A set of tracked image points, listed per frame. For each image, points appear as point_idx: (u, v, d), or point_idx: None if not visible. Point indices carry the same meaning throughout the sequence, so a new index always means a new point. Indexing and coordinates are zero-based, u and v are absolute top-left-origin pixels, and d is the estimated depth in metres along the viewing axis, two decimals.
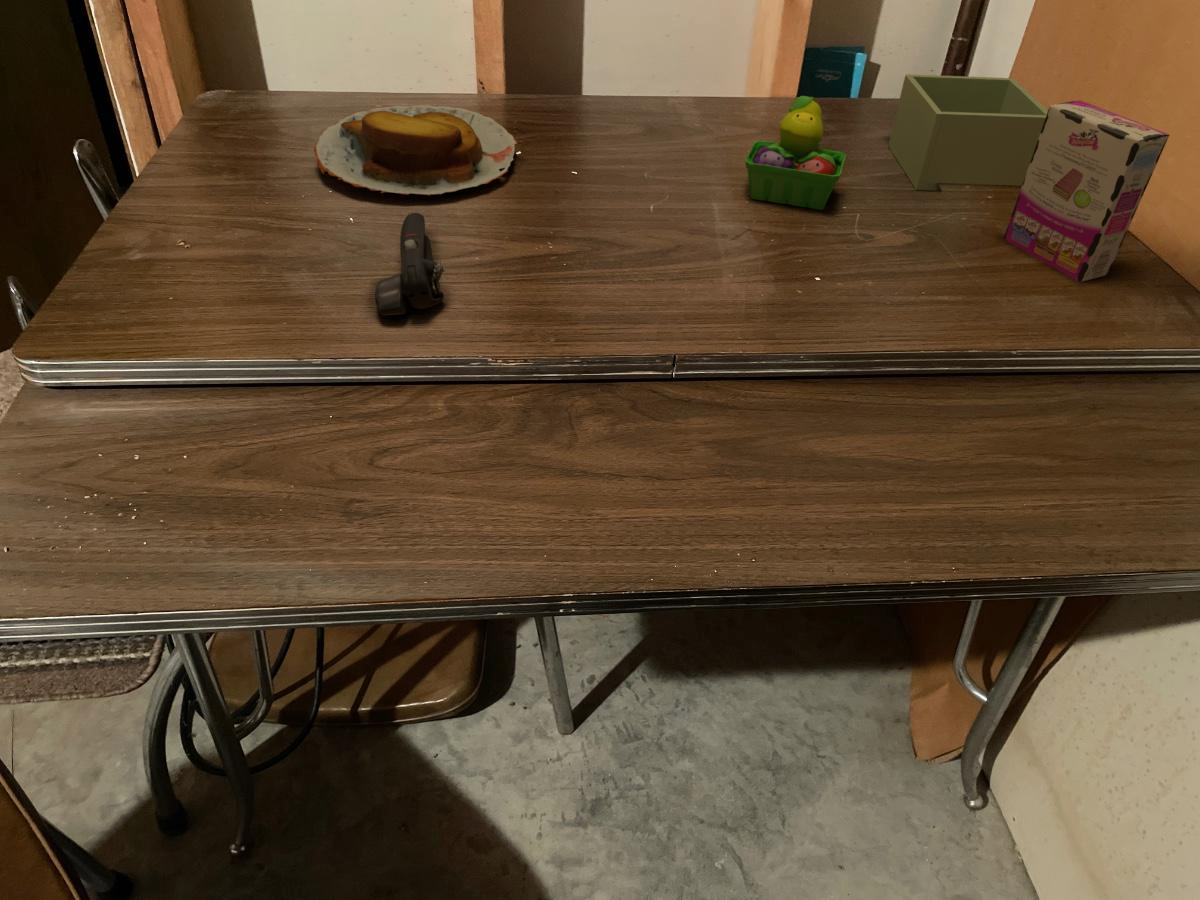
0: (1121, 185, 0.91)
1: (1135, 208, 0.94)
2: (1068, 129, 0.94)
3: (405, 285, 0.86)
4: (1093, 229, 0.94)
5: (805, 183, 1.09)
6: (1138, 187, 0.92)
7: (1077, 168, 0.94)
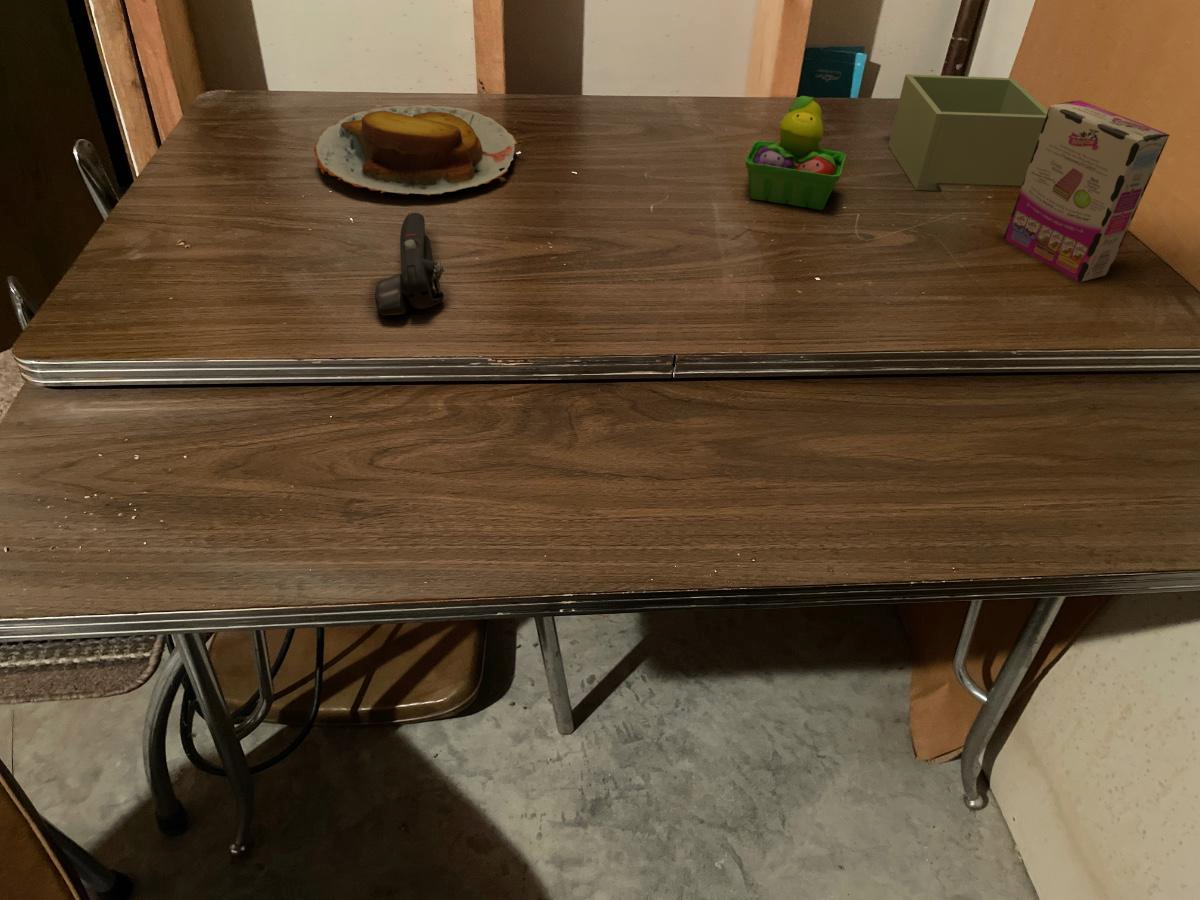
0: (1121, 185, 0.91)
1: (1135, 208, 0.94)
2: (1068, 129, 0.94)
3: (405, 285, 0.86)
4: (1093, 229, 0.94)
5: (805, 183, 1.09)
6: (1138, 187, 0.92)
7: (1077, 168, 0.94)
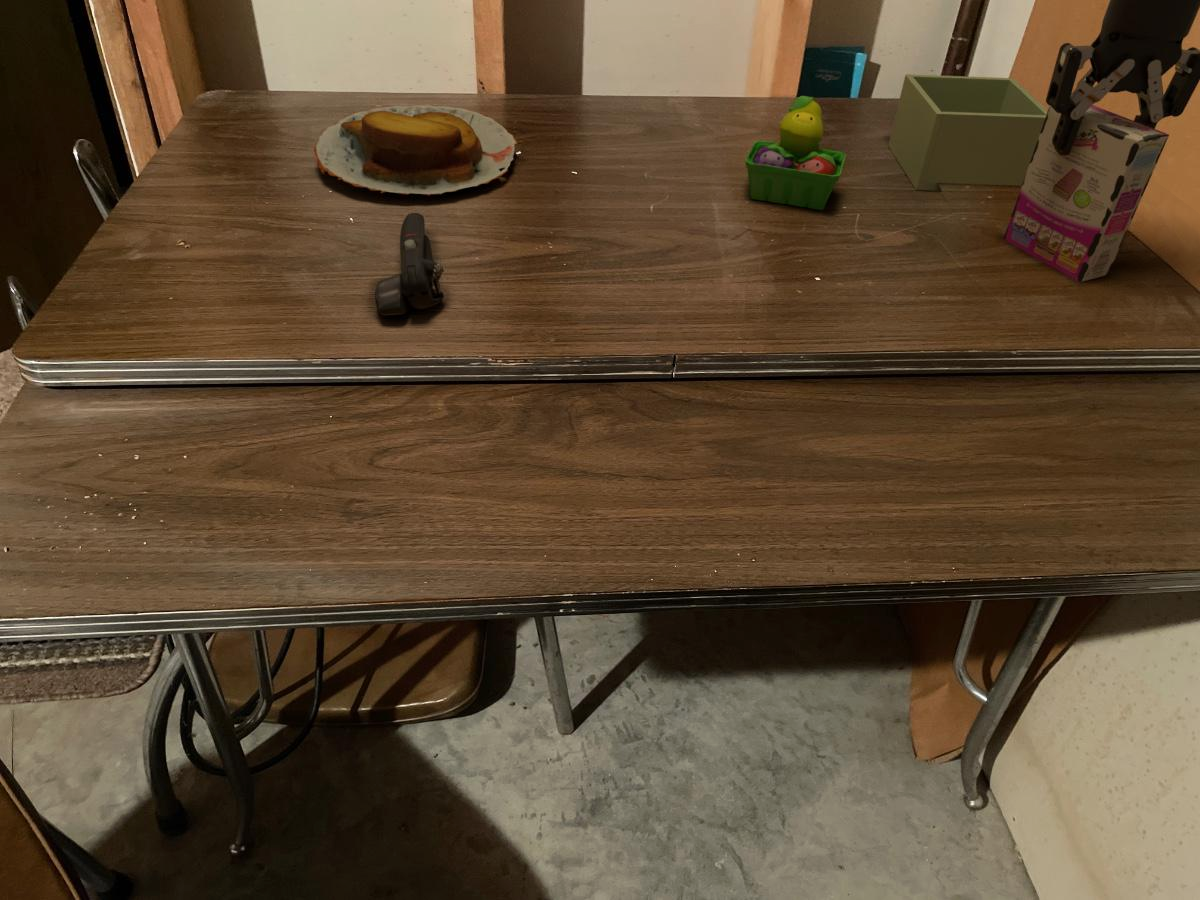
0: (1121, 185, 0.91)
1: (1135, 208, 0.94)
2: None
3: (405, 285, 0.86)
4: (1093, 229, 0.94)
5: (805, 183, 1.09)
6: (1138, 187, 0.92)
7: (1077, 168, 0.94)
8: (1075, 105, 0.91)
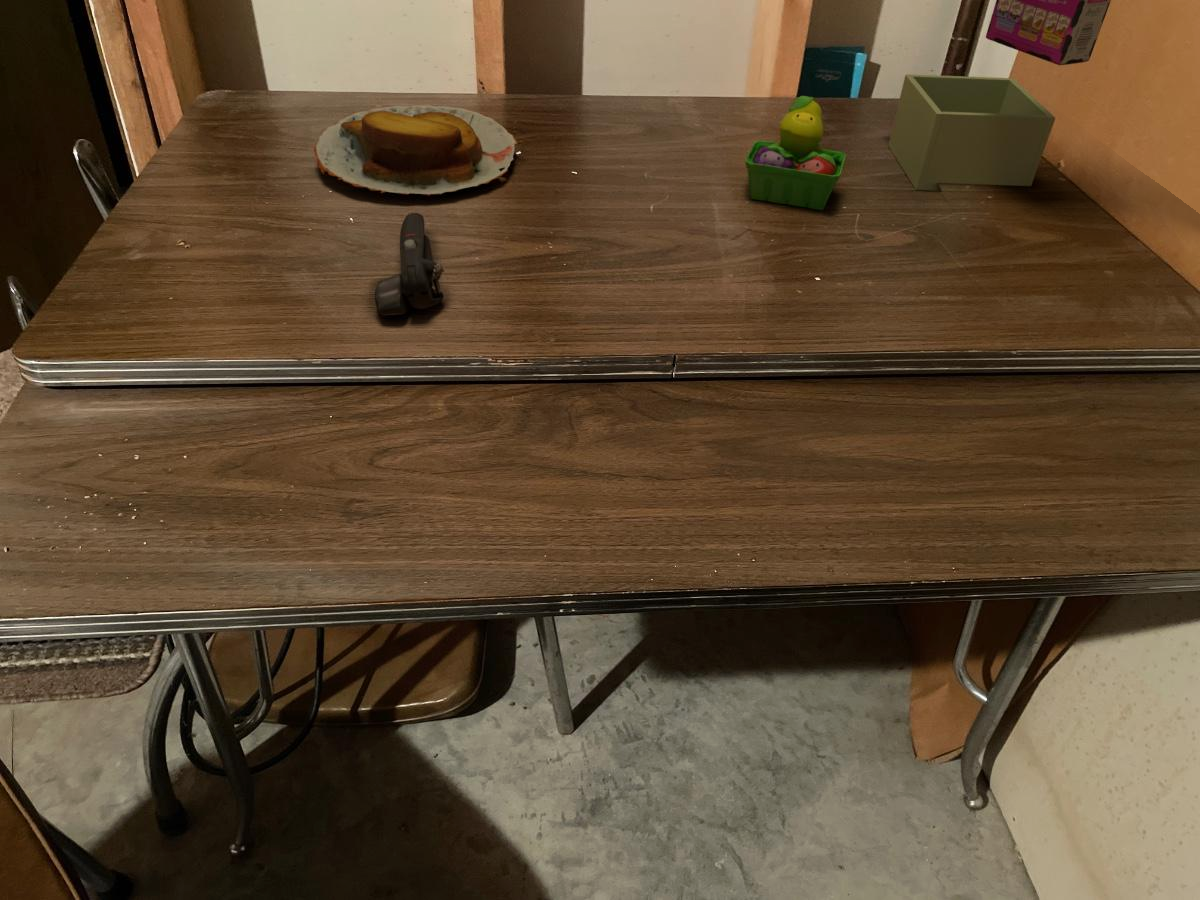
0: None
1: None
2: None
3: (405, 285, 0.86)
4: None
5: (805, 183, 1.09)
6: None
7: None
8: None
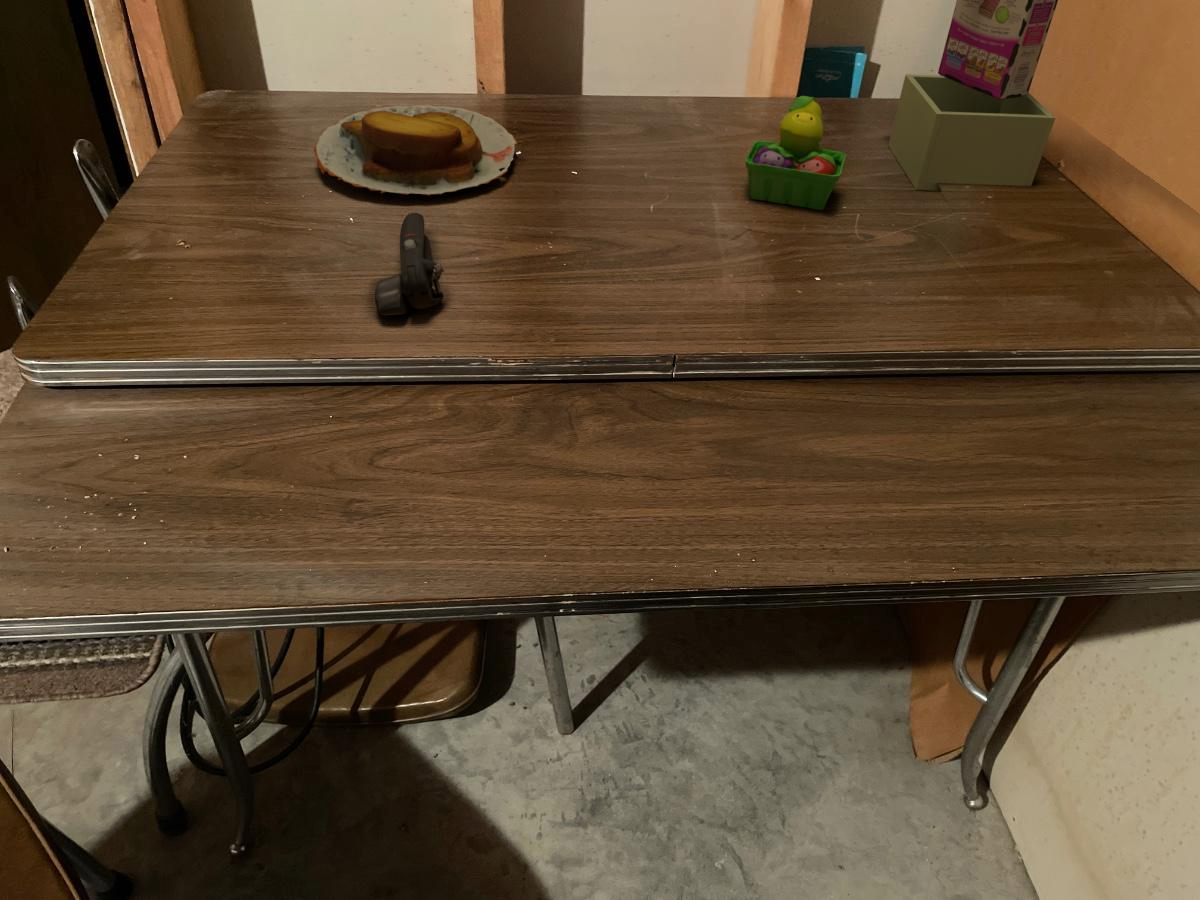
0: None
1: (1049, 21, 1.07)
2: None
3: (405, 285, 0.86)
4: (1012, 41, 1.07)
5: (805, 183, 1.09)
6: None
7: None
8: None
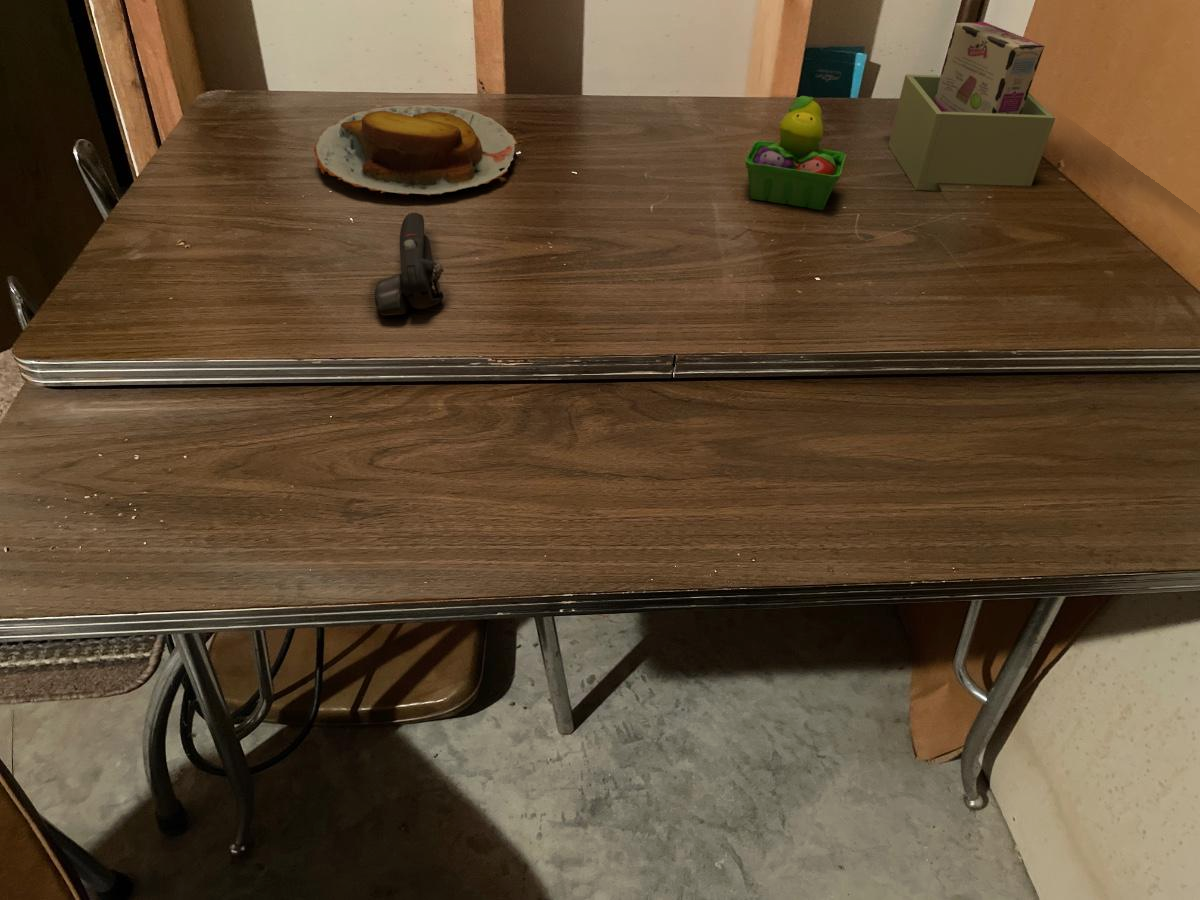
0: (1003, 86, 1.10)
1: (1019, 110, 1.13)
2: (967, 42, 1.14)
3: (405, 285, 0.86)
4: None
5: (805, 183, 1.09)
6: (1019, 90, 1.11)
7: (973, 75, 1.14)
8: None
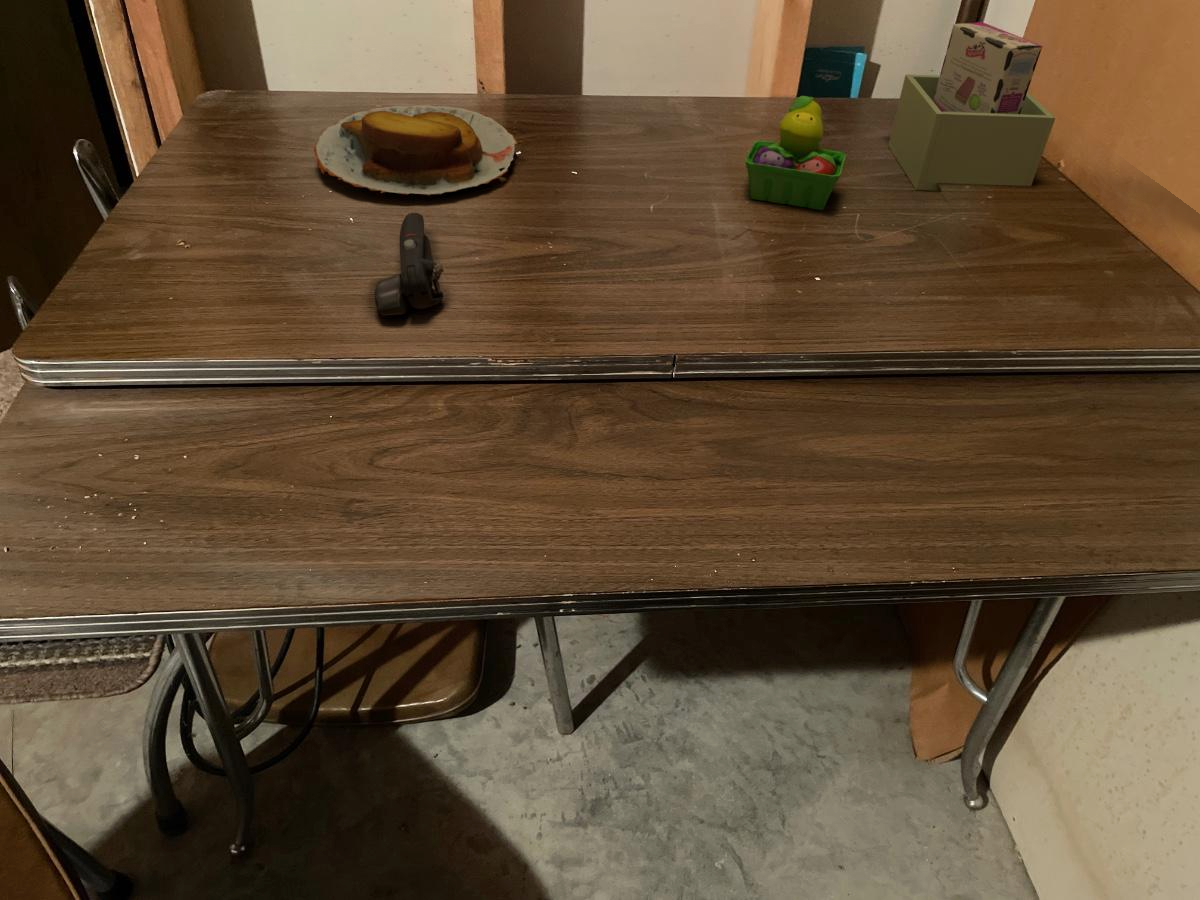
0: (1001, 87, 1.10)
1: (1018, 111, 1.13)
2: (965, 43, 1.14)
3: (405, 285, 0.86)
4: None
5: (805, 183, 1.09)
6: (1018, 91, 1.11)
7: (971, 75, 1.14)
8: None
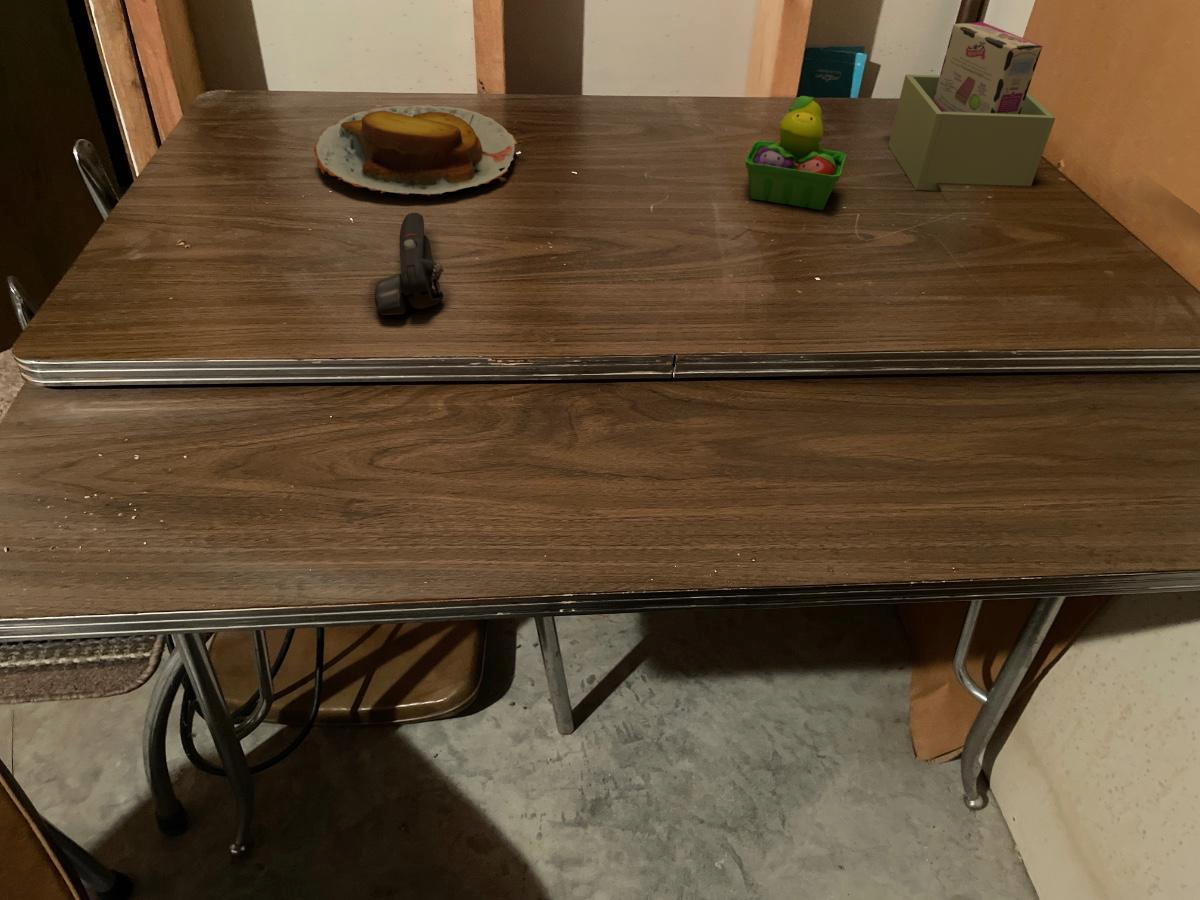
0: (1001, 87, 1.10)
1: (1018, 110, 1.13)
2: (965, 43, 1.14)
3: (404, 285, 0.86)
4: None
5: (805, 183, 1.09)
6: (1018, 91, 1.11)
7: (971, 75, 1.14)
8: None
